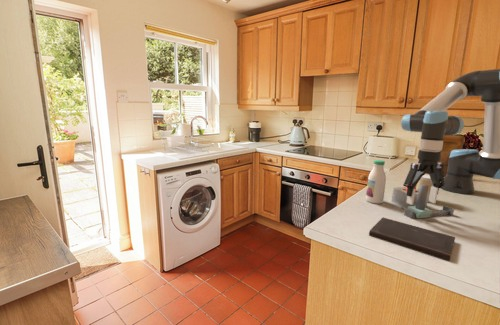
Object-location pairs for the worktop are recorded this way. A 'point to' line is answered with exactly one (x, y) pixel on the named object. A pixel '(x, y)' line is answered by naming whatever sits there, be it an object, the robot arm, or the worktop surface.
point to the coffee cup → (425, 183)
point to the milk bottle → (376, 183)
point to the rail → (445, 211)
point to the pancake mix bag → (449, 149)
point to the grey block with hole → (404, 197)
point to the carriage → (421, 203)
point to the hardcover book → (414, 238)
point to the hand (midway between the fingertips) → (420, 202)
